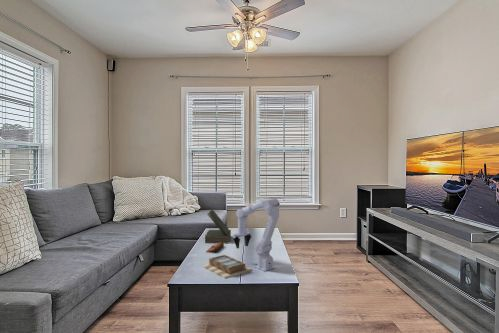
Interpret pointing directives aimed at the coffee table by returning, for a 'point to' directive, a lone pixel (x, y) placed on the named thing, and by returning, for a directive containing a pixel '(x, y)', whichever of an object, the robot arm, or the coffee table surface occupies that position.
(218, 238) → the green open lidded box
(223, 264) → the tan cardboard box
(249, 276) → the coffee table surface
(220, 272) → the birch board
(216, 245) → the sweet potato
